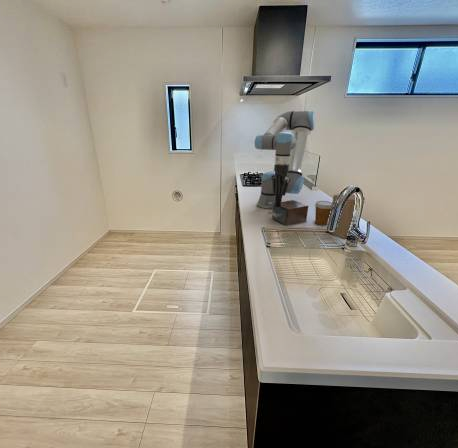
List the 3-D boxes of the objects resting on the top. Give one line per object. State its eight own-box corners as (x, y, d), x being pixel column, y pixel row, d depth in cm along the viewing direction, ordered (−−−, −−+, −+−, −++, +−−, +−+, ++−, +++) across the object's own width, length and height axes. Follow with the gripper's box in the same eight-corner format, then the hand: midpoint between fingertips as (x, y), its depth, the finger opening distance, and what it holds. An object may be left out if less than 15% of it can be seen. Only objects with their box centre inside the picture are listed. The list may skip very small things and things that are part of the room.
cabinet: (286, 225, 133) (288, 209, 129) (272, 218, 143) (273, 203, 140) (306, 221, 139) (308, 205, 135) (291, 214, 149) (293, 200, 146)
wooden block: (356, 235, 121) (365, 197, 114) (343, 239, 117) (351, 199, 109) (339, 228, 129) (346, 192, 122) (326, 231, 125) (333, 194, 118)
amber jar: (327, 220, 140) (330, 200, 136) (332, 226, 132) (336, 205, 127) (310, 219, 141) (313, 200, 137) (314, 225, 133) (318, 205, 128)
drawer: (277, 225, 131) (278, 212, 128) (264, 219, 140) (265, 206, 137) (302, 220, 138) (304, 207, 135) (289, 214, 148) (290, 202, 145)
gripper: (268, 162, 129) (265, 204, 138) (284, 166, 118) (279, 211, 127) (279, 161, 132) (275, 202, 141) (296, 165, 121) (290, 209, 130)
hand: (277, 206), depth 134 cm, fingers closed
